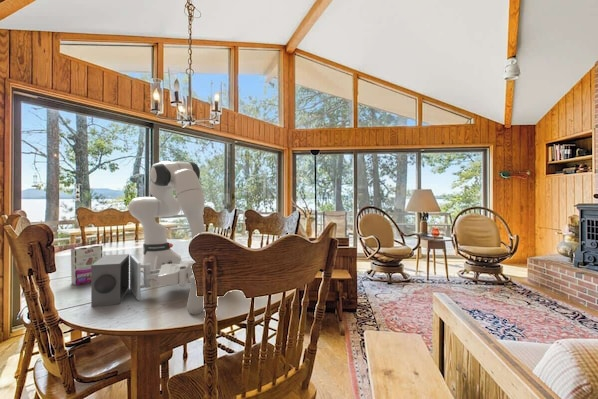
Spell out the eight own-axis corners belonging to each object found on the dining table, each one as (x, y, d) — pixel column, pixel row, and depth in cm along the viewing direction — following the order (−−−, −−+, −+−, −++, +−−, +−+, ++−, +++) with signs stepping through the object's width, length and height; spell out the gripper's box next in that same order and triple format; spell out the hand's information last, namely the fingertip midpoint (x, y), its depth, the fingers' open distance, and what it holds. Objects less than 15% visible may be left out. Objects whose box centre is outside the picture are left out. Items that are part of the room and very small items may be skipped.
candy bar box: (97, 278, 142) (98, 244, 142) (103, 279, 140) (103, 245, 139) (70, 283, 133) (70, 247, 132) (75, 285, 130) (75, 248, 130)
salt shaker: (189, 309, 106) (189, 273, 106) (205, 308, 107) (206, 272, 106) (184, 315, 100) (184, 277, 100) (201, 315, 101) (202, 277, 101)
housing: (104, 290, 124) (104, 255, 124) (129, 288, 127) (129, 254, 127) (89, 308, 106) (90, 266, 105) (118, 305, 109) (119, 264, 108)
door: (129, 287, 127) (129, 255, 127) (143, 285, 131) (143, 253, 130) (137, 300, 113) (137, 263, 113) (152, 297, 116) (152, 261, 116)
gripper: (184, 259, 133) (150, 261, 128) (184, 270, 114) (143, 273, 109) (184, 273, 133) (149, 276, 128) (183, 286, 114) (143, 290, 109)
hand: (146, 275), depth 118 cm, fingers open, 3 cm apart
